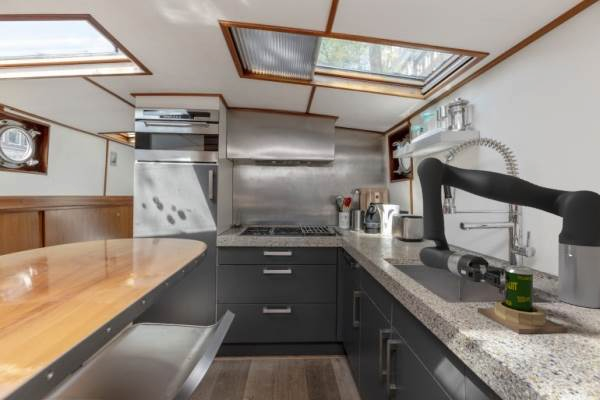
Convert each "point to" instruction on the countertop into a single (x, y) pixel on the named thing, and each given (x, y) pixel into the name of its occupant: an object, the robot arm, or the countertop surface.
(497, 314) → the socket board
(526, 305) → the beer can
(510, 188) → the robot arm
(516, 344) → the countertop surface
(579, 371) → the countertop surface
